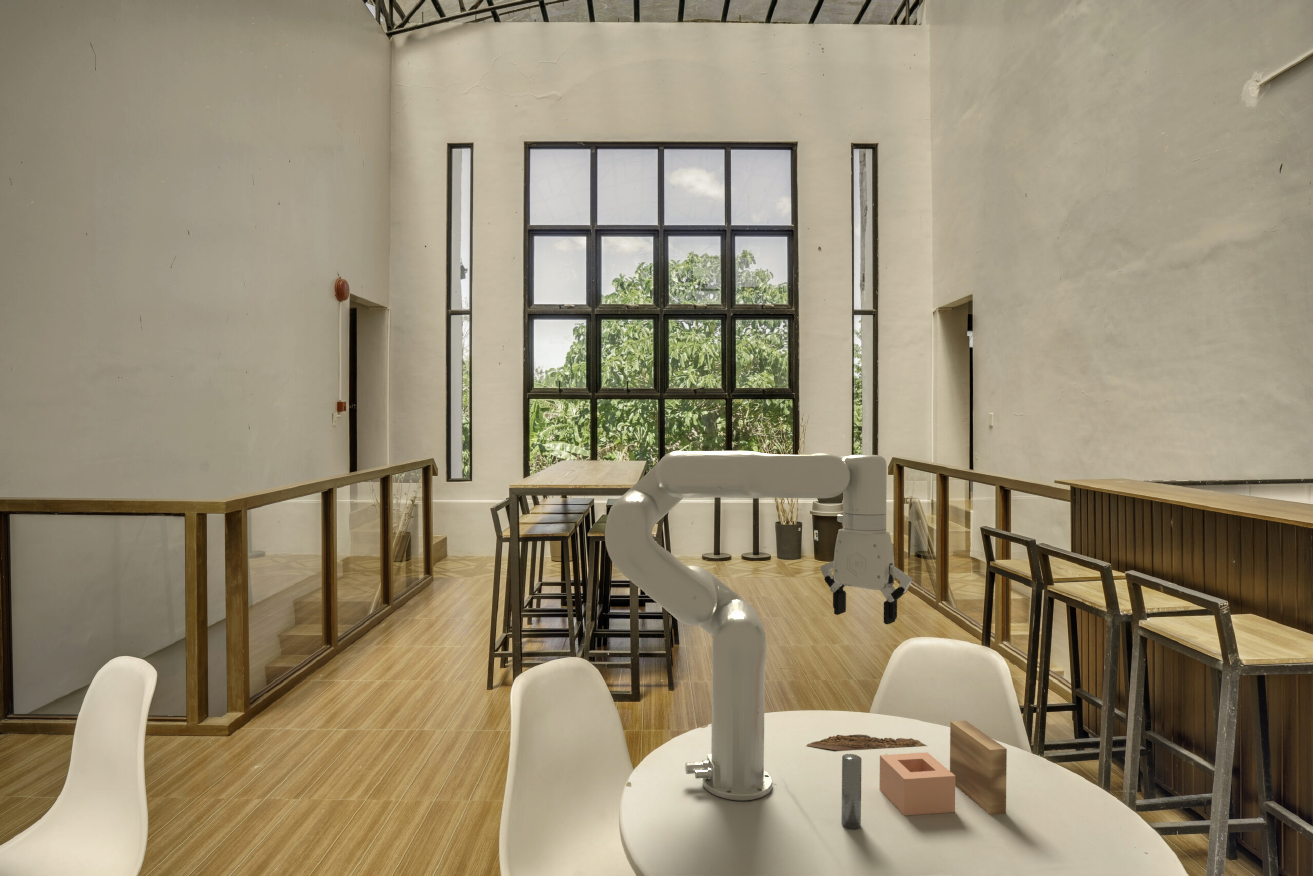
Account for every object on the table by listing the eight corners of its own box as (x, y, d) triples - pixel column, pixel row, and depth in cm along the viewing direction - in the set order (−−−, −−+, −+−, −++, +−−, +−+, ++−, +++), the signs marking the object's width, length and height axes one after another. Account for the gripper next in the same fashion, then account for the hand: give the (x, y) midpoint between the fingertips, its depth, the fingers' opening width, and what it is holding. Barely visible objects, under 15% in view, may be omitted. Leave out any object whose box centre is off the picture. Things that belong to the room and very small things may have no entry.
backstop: (989, 816, 120) (990, 749, 120) (949, 782, 132) (950, 721, 132) (1005, 815, 121) (1006, 748, 121) (965, 781, 133) (965, 720, 133)
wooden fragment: (930, 742, 153) (930, 737, 153) (942, 766, 142) (942, 760, 142) (804, 734, 156) (804, 729, 156) (807, 756, 146) (807, 751, 146)
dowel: (845, 838, 115) (846, 762, 115) (838, 828, 118) (839, 754, 118) (863, 837, 116) (864, 761, 116) (856, 827, 119) (856, 753, 119)
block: (904, 815, 120) (904, 779, 120) (879, 789, 129) (879, 755, 129) (955, 812, 121) (955, 776, 121) (927, 786, 130) (927, 752, 130)
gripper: (811, 521, 135) (811, 613, 135) (901, 529, 123) (900, 631, 123) (832, 517, 140) (831, 606, 140) (920, 525, 128) (919, 622, 128)
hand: (864, 618), depth 132 cm, fingers open, 9 cm apart
